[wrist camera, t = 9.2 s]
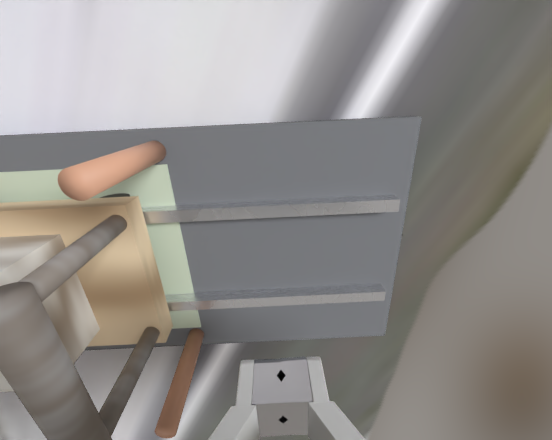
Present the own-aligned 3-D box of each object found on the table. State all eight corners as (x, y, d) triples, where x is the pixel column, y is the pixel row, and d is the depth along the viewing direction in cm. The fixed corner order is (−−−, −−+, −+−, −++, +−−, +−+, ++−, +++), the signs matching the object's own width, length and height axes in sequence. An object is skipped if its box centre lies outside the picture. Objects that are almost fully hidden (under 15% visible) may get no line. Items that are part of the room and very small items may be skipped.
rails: (-44, 215, 17) (-61, 221, 16) (393, 194, 17) (400, 199, 16) (11, 309, 20) (-1, 319, 19) (379, 291, 20) (384, 300, 19)
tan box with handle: (-36, 199, 16) (-421, 322, 7) (146, 191, 16) (-8, 301, 7) (32, 323, 20) (-158, 500, 11) (178, 316, 20) (105, 487, 11)
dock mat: (-83, 139, 16) (-104, 141, 15) (413, 116, 16) (421, 116, 15) (34, 343, 23) (24, 353, 22) (380, 326, 23) (384, 335, 22)
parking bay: (-89, 152, 15) (-348, 187, 9) (163, 140, 15) (87, 166, 9) (27, 347, 22) (-75, 450, 15) (205, 338, 22) (178, 437, 15)
